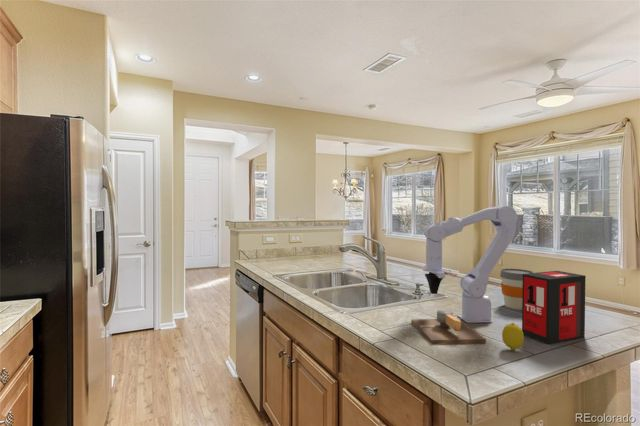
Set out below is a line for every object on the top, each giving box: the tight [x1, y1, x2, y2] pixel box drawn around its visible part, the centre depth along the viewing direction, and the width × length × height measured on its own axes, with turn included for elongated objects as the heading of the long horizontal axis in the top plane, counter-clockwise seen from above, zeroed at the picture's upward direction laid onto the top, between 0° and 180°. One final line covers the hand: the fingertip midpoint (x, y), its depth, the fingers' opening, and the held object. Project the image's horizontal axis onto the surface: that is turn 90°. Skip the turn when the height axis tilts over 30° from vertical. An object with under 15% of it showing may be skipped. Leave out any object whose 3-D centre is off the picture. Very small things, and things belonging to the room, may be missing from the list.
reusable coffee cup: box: [499, 268, 535, 311], centre depth 142 cm, size 13×13×15 cm
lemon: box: [501, 322, 525, 351], centre depth 98 cm, size 6×6×8 cm
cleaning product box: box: [521, 270, 586, 346], centre depth 109 cm, size 16×9×20 cm, turn 110°
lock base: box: [410, 318, 487, 345], centre depth 112 cm, size 17×19×3 cm
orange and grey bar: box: [436, 309, 462, 331], centre depth 111 cm, size 12×5×3 cm, turn 6°
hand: (433, 293), depth 126 cm, fingers closed
